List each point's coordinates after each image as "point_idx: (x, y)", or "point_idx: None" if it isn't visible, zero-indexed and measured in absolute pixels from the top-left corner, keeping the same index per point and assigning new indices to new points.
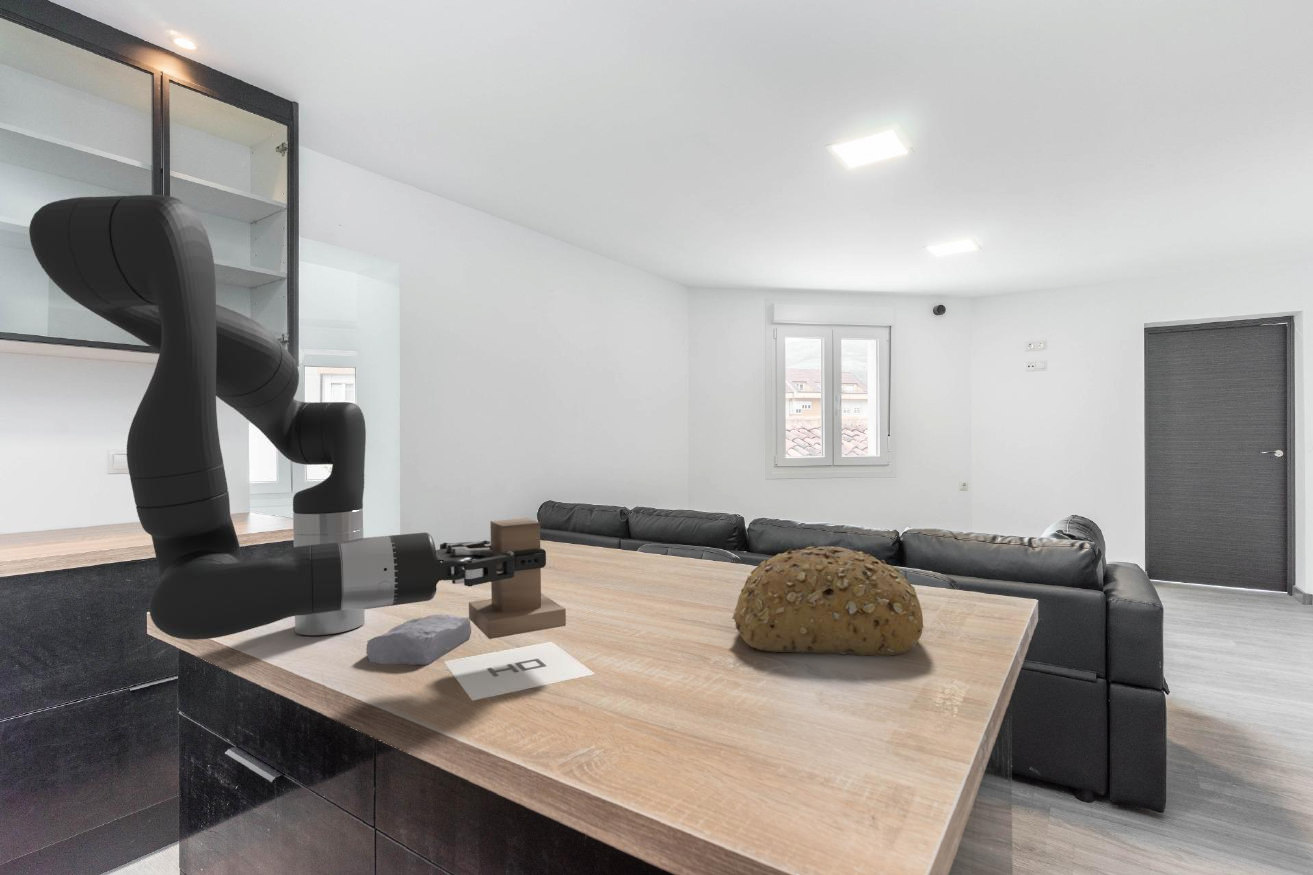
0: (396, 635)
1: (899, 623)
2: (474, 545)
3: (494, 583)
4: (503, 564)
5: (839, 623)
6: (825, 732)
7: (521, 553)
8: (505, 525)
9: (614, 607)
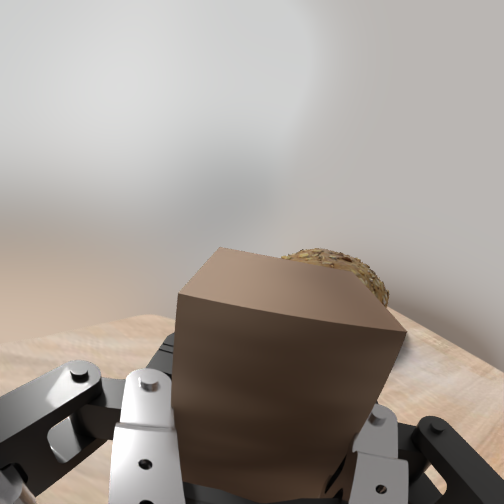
0: None
1: (387, 303)
2: (179, 476)
3: None
4: (429, 463)
5: None
6: (474, 389)
7: None
8: (391, 320)
9: (107, 332)
